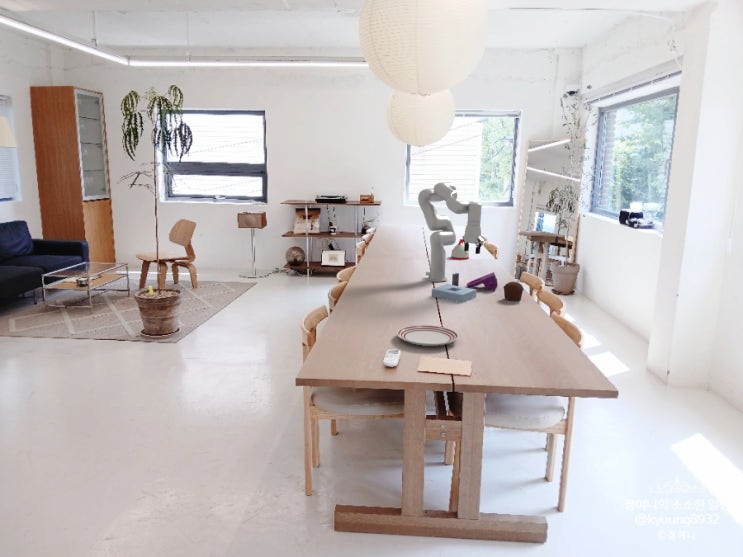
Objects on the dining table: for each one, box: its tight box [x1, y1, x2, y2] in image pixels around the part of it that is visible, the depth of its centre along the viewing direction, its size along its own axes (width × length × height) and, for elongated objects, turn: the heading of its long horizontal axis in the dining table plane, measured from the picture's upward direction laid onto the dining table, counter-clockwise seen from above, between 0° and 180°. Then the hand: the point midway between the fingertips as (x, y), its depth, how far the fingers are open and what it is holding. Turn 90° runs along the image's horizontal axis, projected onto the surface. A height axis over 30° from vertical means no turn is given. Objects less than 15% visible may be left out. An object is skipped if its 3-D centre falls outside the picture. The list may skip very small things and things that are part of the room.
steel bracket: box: [451, 272, 460, 286], centre depth 333 cm, size 4×5×10 cm
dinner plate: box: [396, 324, 460, 347], centre depth 246 cm, size 28×27×3 cm
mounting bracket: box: [466, 271, 499, 291], centre depth 339 cm, size 9×8×18 cm
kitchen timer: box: [450, 238, 470, 261], centre depth 432 cm, size 14×14×15 cm
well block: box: [431, 283, 477, 304], centre depth 318 cm, size 20×16×4 cm
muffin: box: [502, 281, 524, 302], centre depth 314 cm, size 12×11×10 cm
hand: (471, 252), depth 328 cm, fingers open, 9 cm apart
